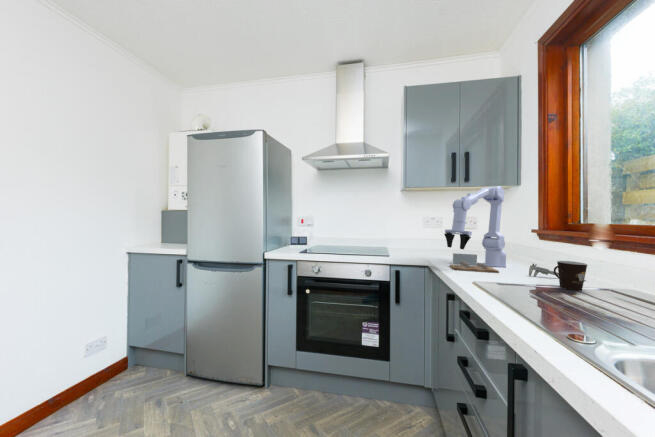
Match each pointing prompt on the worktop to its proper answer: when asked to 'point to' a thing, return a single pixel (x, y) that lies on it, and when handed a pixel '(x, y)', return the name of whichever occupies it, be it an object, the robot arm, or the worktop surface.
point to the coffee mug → (571, 274)
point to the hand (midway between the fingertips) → (455, 248)
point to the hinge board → (474, 267)
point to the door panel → (465, 258)
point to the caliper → (540, 270)
